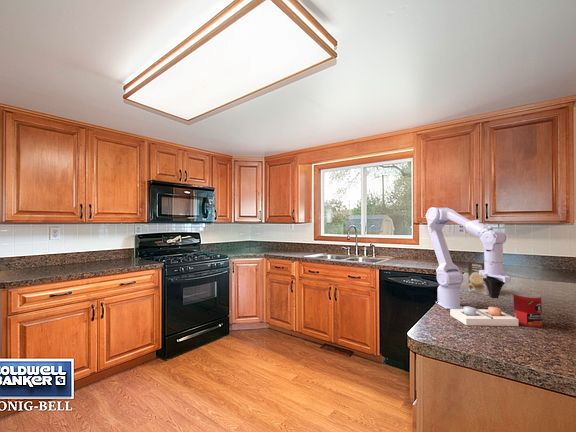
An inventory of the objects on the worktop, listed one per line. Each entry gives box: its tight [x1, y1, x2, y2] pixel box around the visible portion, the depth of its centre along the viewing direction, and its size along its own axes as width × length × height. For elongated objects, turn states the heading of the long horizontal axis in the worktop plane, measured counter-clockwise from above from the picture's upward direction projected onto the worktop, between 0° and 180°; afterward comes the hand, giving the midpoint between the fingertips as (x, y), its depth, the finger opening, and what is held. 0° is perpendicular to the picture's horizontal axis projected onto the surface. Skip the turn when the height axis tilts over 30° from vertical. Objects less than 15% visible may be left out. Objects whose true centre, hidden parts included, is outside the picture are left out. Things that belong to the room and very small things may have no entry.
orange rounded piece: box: [487, 306, 502, 316], centre depth 105 cm, size 4×4×4 cm
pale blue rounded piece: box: [463, 305, 477, 316], centre depth 106 cm, size 4×4×4 cm
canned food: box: [512, 290, 543, 328], centre depth 102 cm, size 8×8×11 cm
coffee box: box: [467, 260, 490, 296], centre depth 146 cm, size 9×6×16 cm
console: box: [449, 308, 520, 327], centre depth 106 cm, size 11×18×3 cm, turn 87°
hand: (494, 297), depth 106 cm, fingers closed
